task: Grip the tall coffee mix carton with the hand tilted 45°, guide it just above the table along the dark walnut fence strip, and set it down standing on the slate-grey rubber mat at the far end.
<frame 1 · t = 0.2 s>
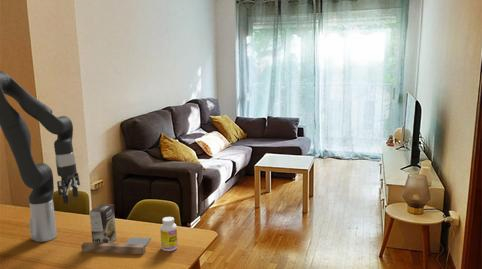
hand: (71, 200, 170), 18 cm above the table, tool pointing down, fingers open, 8 cm apart
supplement bottle: (169, 248, 164), on the table
coffee box: (105, 243, 169), on the table
walnut fence: (113, 251, 162), on the table
end mat: (136, 244, 168), on the table
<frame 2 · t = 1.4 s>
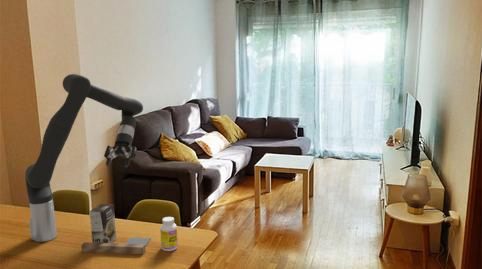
hand: (116, 166, 180), 29 cm above the table, tool tilted 45°, fingers open, 8 cm apart
nothing on the table moved.
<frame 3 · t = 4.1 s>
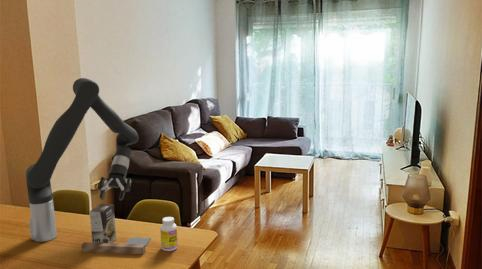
hand: (111, 199, 175), 16 cm above the table, tool tilted 45°, fingers open, 8 cm apart
nothing on the table moved.
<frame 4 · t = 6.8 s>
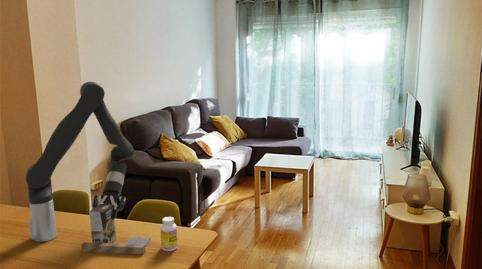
hand: (104, 218, 168), 10 cm above the table, tool tilted 45°, fingers closed on coffee box, 6 cm apart
coffee box: (105, 243, 169), on the table, touching gripper
everything else where it was.
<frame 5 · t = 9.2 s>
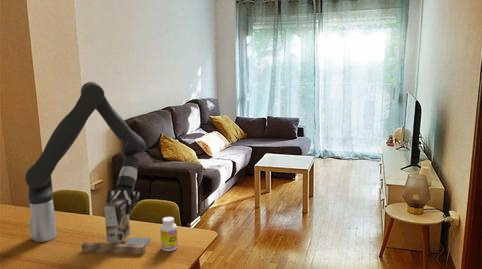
hand: (118, 213, 168), 13 cm above the table, tool tilted 45°, fingers closed on coffee box, 6 cm apart
coffee box: (119, 238, 168), point 2 cm above the table, touching gripper
everything else where it was.
when the fingers open (12 cm above the table, at t = 12.0 s): coffee box stays where it is, resting on end mat.
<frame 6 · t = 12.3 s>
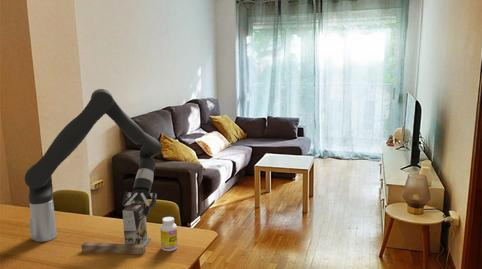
hand: (136, 215, 167), 12 cm above the table, tool tilted 45°, fingers open, 8 cm apart
coffee box: (136, 243, 168), resting on end mat
everything else where it was.
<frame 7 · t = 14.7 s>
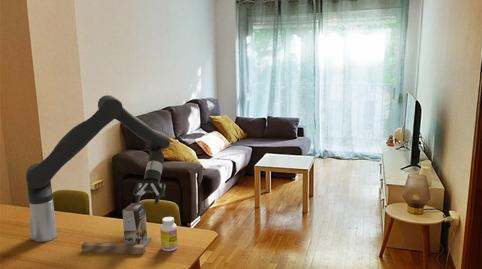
hand: (146, 204, 179), 12 cm above the table, tool tilted 45°, fingers open, 8 cm apart
nothing on the table moved.
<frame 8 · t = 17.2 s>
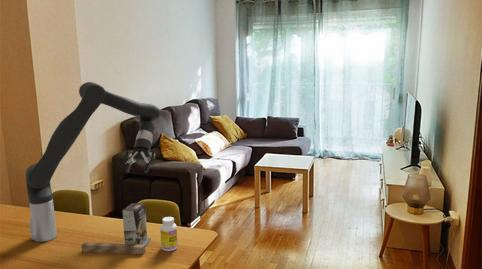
hand: (136, 171, 180), 27 cm above the table, tool tilted 45°, fingers open, 8 cm apart
nothing on the table moved.
at the end: coffee box 0.4 cm off-centre on the end mat, point 0.4 cm above the end mat's base; coffee box tilted 0°; the gripper is holding nothing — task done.
